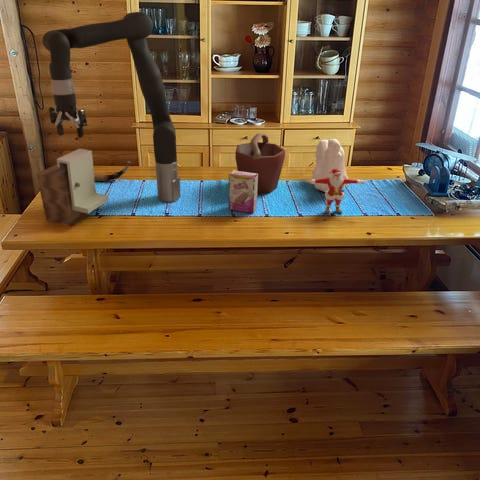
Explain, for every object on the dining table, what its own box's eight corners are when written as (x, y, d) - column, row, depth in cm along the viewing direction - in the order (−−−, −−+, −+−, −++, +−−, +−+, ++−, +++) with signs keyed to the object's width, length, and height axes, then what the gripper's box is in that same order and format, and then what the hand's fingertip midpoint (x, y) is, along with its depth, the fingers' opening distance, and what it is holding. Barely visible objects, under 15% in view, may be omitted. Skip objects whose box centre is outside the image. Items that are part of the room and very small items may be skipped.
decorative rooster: (350, 197, 216) (357, 143, 204) (315, 197, 215) (320, 143, 204) (338, 177, 238) (344, 127, 226) (306, 177, 237) (311, 127, 226)
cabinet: (98, 207, 203) (90, 150, 191) (71, 225, 188) (60, 165, 176) (74, 203, 206) (64, 147, 194) (46, 221, 191) (34, 161, 179)
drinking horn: (71, 179, 231) (68, 159, 226) (133, 179, 232) (132, 159, 228) (68, 183, 226) (64, 163, 222) (132, 183, 227) (130, 163, 223)
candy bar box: (228, 210, 202) (228, 173, 194) (232, 205, 206) (232, 169, 198) (253, 214, 199) (254, 177, 191) (257, 209, 203) (258, 173, 195)
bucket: (266, 201, 211) (268, 146, 199) (223, 191, 220) (222, 138, 208) (289, 183, 229) (292, 132, 217) (248, 175, 239) (250, 125, 227)
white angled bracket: (108, 200, 196) (105, 153, 186) (88, 213, 185) (83, 164, 175) (84, 194, 199) (79, 148, 189) (62, 207, 188) (56, 159, 178)
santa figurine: (303, 214, 200) (307, 171, 191) (302, 208, 205) (305, 166, 196) (363, 214, 200) (370, 172, 191) (360, 208, 205) (366, 167, 196)
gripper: (86, 91, 173) (93, 135, 180) (54, 88, 177) (61, 131, 185) (74, 95, 166) (80, 140, 174) (40, 92, 171) (48, 136, 178)
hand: (70, 136), depth 179 cm, fingers open, 8 cm apart
